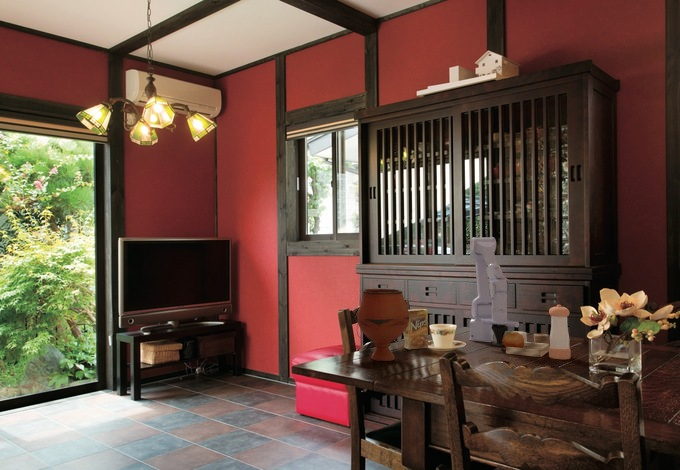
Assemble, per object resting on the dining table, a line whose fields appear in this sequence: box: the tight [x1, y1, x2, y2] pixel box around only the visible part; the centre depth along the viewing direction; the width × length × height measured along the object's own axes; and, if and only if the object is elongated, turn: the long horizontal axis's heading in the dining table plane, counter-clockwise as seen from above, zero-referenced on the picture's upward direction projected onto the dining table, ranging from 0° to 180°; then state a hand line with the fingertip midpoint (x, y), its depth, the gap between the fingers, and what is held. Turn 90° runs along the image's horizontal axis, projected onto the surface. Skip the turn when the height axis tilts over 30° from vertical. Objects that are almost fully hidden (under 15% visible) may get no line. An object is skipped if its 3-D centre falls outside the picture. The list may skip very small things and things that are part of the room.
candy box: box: [403, 308, 429, 350], centre depth 217 cm, size 9×4×15 cm, turn 113°
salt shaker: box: [548, 304, 572, 360], centre depth 199 cm, size 7×7×19 cm
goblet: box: [356, 288, 409, 362], centre depth 198 cm, size 19×19×25 cm
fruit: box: [502, 331, 524, 348], centre depth 212 cm, size 8×8×8 cm
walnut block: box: [533, 333, 550, 345], centre depth 217 cm, size 5×5×5 cm
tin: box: [492, 333, 505, 347], centre depth 224 cm, size 5×5×4 cm
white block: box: [513, 330, 528, 342], centre depth 223 cm, size 6×6×5 cm
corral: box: [505, 341, 550, 358], centre depth 208 cm, size 13×14×2 cm
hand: (499, 344), depth 214 cm, fingers closed
